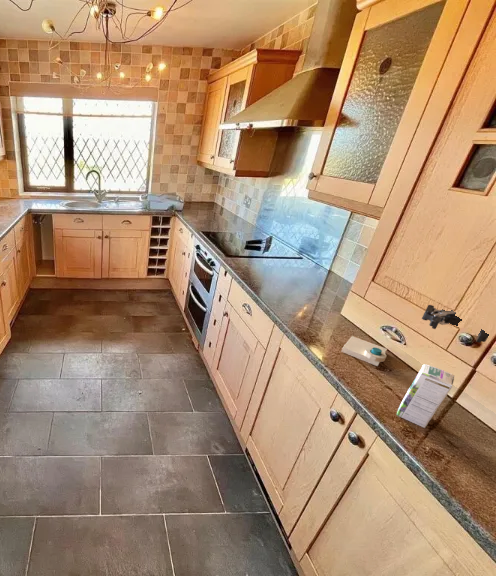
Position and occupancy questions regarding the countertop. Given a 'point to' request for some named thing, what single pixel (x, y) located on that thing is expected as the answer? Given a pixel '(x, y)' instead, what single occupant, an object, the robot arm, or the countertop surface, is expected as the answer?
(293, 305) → the countertop surface
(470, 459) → the countertop surface
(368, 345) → the scale
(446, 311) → the robot arm
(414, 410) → the syrup box
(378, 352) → the tare button
